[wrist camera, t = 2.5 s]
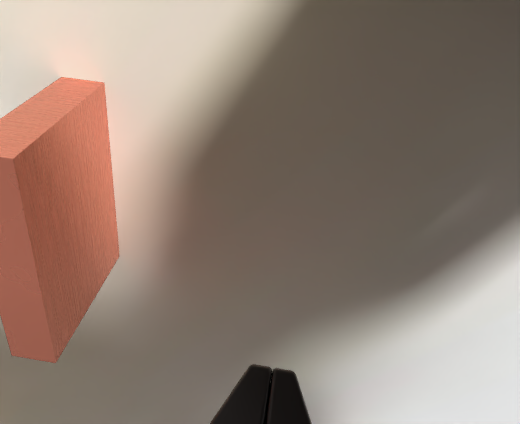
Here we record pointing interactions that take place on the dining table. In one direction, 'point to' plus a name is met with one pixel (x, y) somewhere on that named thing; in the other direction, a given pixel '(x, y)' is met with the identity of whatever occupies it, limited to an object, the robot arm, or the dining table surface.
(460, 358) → the dining table surface
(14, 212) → the pin
